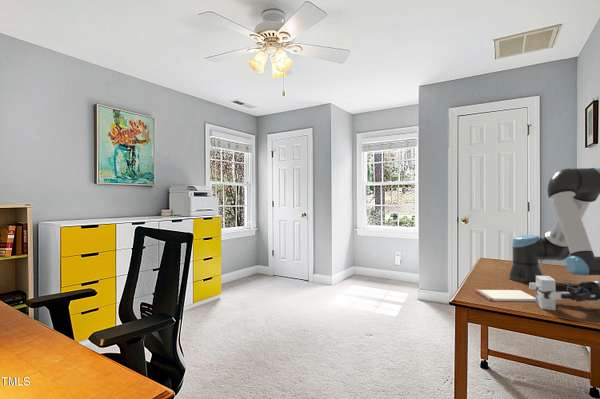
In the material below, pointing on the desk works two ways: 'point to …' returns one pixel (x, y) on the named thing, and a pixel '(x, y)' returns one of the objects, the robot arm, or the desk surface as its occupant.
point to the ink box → (545, 292)
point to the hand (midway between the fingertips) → (539, 290)
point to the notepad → (505, 295)
